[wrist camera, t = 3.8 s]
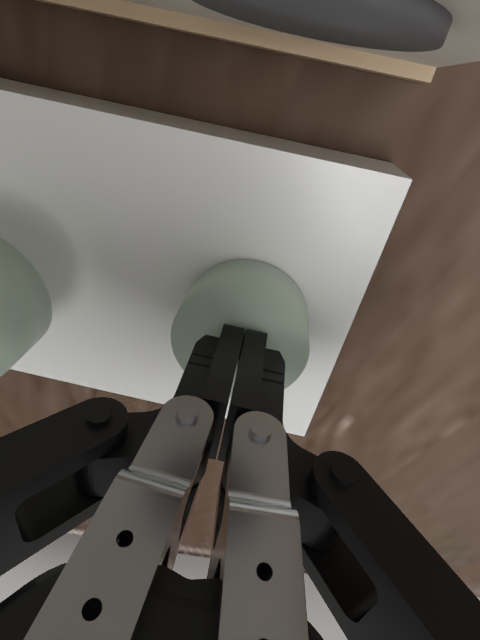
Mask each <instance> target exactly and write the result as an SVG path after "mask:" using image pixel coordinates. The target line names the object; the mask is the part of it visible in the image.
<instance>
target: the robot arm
mask: <svg viewBox="0 0 480 640" xmlns="http://www.w3.org/2000/svg"><path fill="white" fill-rule="evenodd" d="M244 330H245V328H242V327H237V326H233V325H229V324H224V325H223V329H222V332H221V335H220V338H219V337H215V336H210V335H204V336H203V337H202V338H200V339H199V340H198V341H197V342H196V343H195V345H194V348H193V350H192V353H191V355H190V358H189V360H188V363H187V365H186V368H185V370H184V373H183V375H182V378H181V380H180V382H179V385H178V387H177V390H176V392H175V395H174V397H173V398H172V399H170V400H169V401H167V402H166V403H165V404H164V405H163V407H162V408H160V409H157V410H154V411H150V412H134V413H128V412H127V410H126V408H125V406H124V405H123V404H122V403H120V402H119V401H117V400H115V399H112V398H106V397H98V398H92V399H89V400H86V401H83V402H81V403H79V404H77V405H74V406H72V407H70V408H67V409H65V410H63V411H60V412H58V413H56V414H53V415H51V416H49V417H46V418H44V419H42V420H40V421H37V422H35V423H33V424H30V425H28V426H26V427H23V428H21V429H19V430H16V431H14V432H12V433H9V434H7V435H5V436H3V437H0V576H1V575H2V574H4V573H6V572H7V571H9V570H10V569H12V568H13V567H15V566H16V565H18V564H19V563H21V562H23V561H24V560H26V559H27V558H29V557H30V556H32V555H33V554H35V553H36V552H38V551H39V550H41V549H43V548H44V547H46V546H47V545H49V544H50V543H52V542H53V541H55V540H56V539H58V538H59V537H61V536H62V535H64V534H66V533H67V532H69V531H70V530H72V529H73V528H75V527H76V526H78V525H79V524H81V523H83V522H84V521H86V520H87V519H89V518H90V517H92V516H93V515H94V516H93V517H92V519H91V521H90V523H89V524H88V526H87V528H86V530H85V532H84V533H83V535H82V537H81V539H80V541H79V542H78V544H77V546H76V548H75V549H74V551H73V553H72V555H71V556H70V558H69V560H68V562H67V563H65V564H62V565H59V566H57V567H55V568H53V569H50V570H48V571H46V572H45V573H43V574H41V575H39V576H38V577H36V578H34V579H33V580H31V581H30V582H28V583H27V584H26V585H24V586H23V587H22V588H20V589H19V590H17V591H16V592H15V593H13V594H12V595H11V596H9V597H8V598H7V599H5V600H4V601H2V602H1V603H0V640H323V639H322V637H321V635H320V634H319V633H318V632H317V631H316V630H315V628H314V627H313V626H312V625H311V624H310V623H309V622H308V621H307V612H306V599H305V584H304V571H303V567H304V568H305V570H306V572H307V573H308V575H309V577H310V578H311V580H312V581H313V583H314V585H315V586H316V588H317V590H318V591H319V593H320V595H321V596H322V598H323V599H324V601H325V603H326V604H327V606H328V608H329V609H330V611H331V612H332V614H333V616H334V617H335V619H336V621H337V622H338V624H339V626H340V627H341V629H342V631H343V632H344V634H345V635H346V637H347V639H348V640H480V601H479V599H478V598H477V597H476V596H475V595H474V594H473V593H472V591H471V590H470V589H469V588H468V587H467V586H466V585H465V583H464V582H463V581H462V580H461V579H460V578H459V577H458V575H457V574H456V573H455V572H454V571H453V570H452V569H451V568H450V566H449V565H448V564H447V563H446V562H445V561H444V560H443V558H442V557H441V556H440V555H439V554H438V553H437V552H436V550H435V549H434V548H433V547H432V546H431V545H430V544H429V542H428V541H427V540H426V539H425V538H424V537H423V536H422V534H421V533H420V532H419V531H418V530H417V529H416V528H415V526H414V525H413V524H412V523H411V522H410V521H409V520H408V518H407V517H406V516H405V515H404V514H403V513H402V512H401V510H400V509H399V508H398V507H397V506H396V505H395V504H394V502H393V501H392V500H391V499H390V498H389V497H388V496H387V494H386V493H385V492H384V491H383V490H382V489H381V488H380V486H379V485H378V484H377V483H376V482H375V481H374V480H373V479H372V477H371V476H370V475H369V474H368V473H367V472H366V471H365V469H364V468H363V467H362V466H361V465H360V464H359V463H358V462H357V461H356V460H355V459H353V458H352V457H350V456H349V455H346V454H344V453H341V452H337V451H327V452H324V453H322V454H320V455H319V456H316V455H314V454H312V453H310V452H309V451H307V450H305V449H303V448H301V447H300V446H298V445H297V444H296V443H294V442H293V441H292V440H291V439H290V437H289V436H288V435H287V433H286V431H285V429H284V426H283V403H284V382H285V376H284V375H285V361H284V359H283V357H282V355H281V353H280V351H277V350H272V349H268V348H266V343H267V333H264V332H260V331H255V330H251V329H247V330H246V334H245V338H244V343H243V347H242V351H241V356H240V360H239V364H238V369H237V373H236V378H235V382H234V387H233V392H232V396H231V401H230V405H229V410H228V414H227V419H226V424H225V428H224V433H223V437H222V442H221V447H220V451H219V456H218V460H220V461H224V466H223V471H222V476H221V480H220V484H219V489H218V497H217V506H216V515H215V523H214V532H213V540H212V549H211V556H210V563H209V568H208V574H207V579H196V580H190V579H187V578H185V577H183V576H181V575H179V574H178V573H176V572H174V571H173V567H174V564H175V560H176V556H177V553H178V549H179V546H180V543H181V540H182V537H183V534H184V531H185V528H186V525H187V522H188V519H189V516H190V513H191V510H192V507H193V504H194V501H195V498H196V495H197V492H198V489H199V486H200V483H201V479H202V478H203V476H204V474H205V471H206V467H207V463H208V459H209V458H210V459H216V454H217V450H218V446H219V441H220V437H221V432H222V428H223V424H224V419H225V415H226V410H227V406H228V402H229V397H230V393H231V388H232V384H233V379H234V375H235V370H236V366H237V361H238V357H239V352H240V348H241V343H242V339H243V334H244Z"/></svg>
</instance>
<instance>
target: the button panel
mask: <svg viewBox="0 0 480 640" xmlns="http://www.w3.org/2000/svg"><path fill="white" fill-rule="evenodd" d="M411 182H412V179H411V178H410V177H409V176H407V175H406V174H405V173H404V172H402V171H401V170H400V169H399V168H397V167H396V166H395V165H394V164H392V163H391V162H386V161H382V160H377V159H372V158H368V157H363V156H359V155H354V154H349V153H345V152H340V151H336V150H331V149H326V148H322V147H317V146H313V145H308V144H303V143H299V142H294V141H290V140H285V139H280V138H276V137H271V136H267V135H262V134H257V133H253V132H248V131H244V130H239V129H234V128H230V127H225V126H221V125H216V124H211V123H207V122H202V121H198V120H193V119H188V118H184V117H179V116H175V115H170V114H165V113H161V112H156V111H151V110H147V109H142V108H138V107H133V106H128V105H124V104H119V103H115V102H110V101H105V100H101V99H96V98H92V97H87V96H82V95H78V94H73V93H69V92H64V91H59V90H55V89H50V88H46V87H41V86H36V85H32V84H27V83H23V82H18V81H13V80H9V79H4V78H0V237H1V238H2V239H4V240H5V241H7V242H8V243H10V244H11V245H12V246H14V247H15V248H16V249H17V250H18V251H19V252H21V253H22V254H23V255H24V256H25V257H26V258H27V259H28V261H29V262H30V263H31V264H32V265H33V266H34V268H35V269H36V270H37V272H38V273H39V275H40V276H41V278H42V280H43V281H44V284H45V286H46V288H47V290H48V293H49V296H50V299H51V304H52V319H51V323H50V327H49V328H48V330H47V332H46V333H45V335H44V336H43V337H42V338H41V339H40V340H39V341H38V342H37V343H36V344H35V345H34V346H33V347H32V348H31V349H30V350H29V351H27V352H26V353H25V354H24V355H23V356H22V357H21V358H20V359H19V360H18V361H17V362H16V363H15V364H14V365H13V366H12V367H11V368H10V369H13V370H17V371H21V372H26V373H30V374H34V375H39V376H43V377H47V378H52V379H56V380H60V381H65V382H69V383H74V384H78V385H82V386H87V387H91V388H95V389H100V390H104V391H108V392H113V393H117V394H121V395H126V396H130V397H135V398H139V399H143V400H148V401H152V402H156V403H161V404H165V403H166V402H167V401H169V400H170V399H172V398H173V397H174V395H175V392H176V390H177V387H178V385H179V382H180V380H181V378H182V375H183V373H184V370H183V369H182V368H181V366H180V365H179V363H178V362H177V360H176V358H175V356H174V353H173V350H172V346H171V327H172V323H173V320H174V318H175V316H176V314H177V312H178V310H179V308H180V306H181V305H182V303H183V301H184V299H185V297H186V295H187V293H188V292H189V290H190V288H191V286H192V284H193V283H194V281H195V280H196V279H197V278H198V277H199V276H200V275H201V274H202V273H203V272H204V271H206V270H207V269H209V268H211V267H212V266H214V265H217V264H219V263H222V262H226V261H230V260H239V259H245V260H255V261H260V262H263V263H267V264H269V265H271V266H274V267H276V268H277V269H279V270H281V271H283V272H284V273H285V274H286V275H288V276H289V277H290V278H291V279H292V280H293V281H294V282H295V283H296V284H297V286H298V287H299V288H300V290H301V292H302V293H303V295H304V298H305V300H306V303H307V308H308V320H309V341H310V352H309V358H308V362H307V364H306V366H305V369H304V370H303V372H302V373H301V375H300V376H299V377H298V379H297V380H296V381H295V382H294V383H292V384H291V385H290V386H289V387H287V388H286V389H284V403H283V426H284V429H285V431H286V432H287V433H291V434H296V435H300V436H305V433H306V431H307V429H308V426H309V424H310V422H311V419H312V417H313V414H314V412H315V410H316V407H317V405H318V403H319V400H320V398H321V395H322V393H323V391H324V388H325V386H326V384H327V381H328V379H329V376H330V374H331V372H332V369H333V367H334V365H335V362H336V360H337V357H338V355H339V353H340V350H341V348H342V346H343V343H344V341H345V338H346V336H347V334H348V331H349V329H350V327H351V324H352V322H353V319H354V317H355V315H356V312H357V310H358V308H359V305H360V303H361V301H362V298H363V296H364V293H365V291H366V289H367V286H368V284H369V282H370V279H371V277H372V274H373V272H374V270H375V267H376V265H377V263H378V260H379V258H380V255H381V253H382V251H383V248H384V246H385V244H386V241H387V239H388V236H389V234H390V232H391V229H392V227H393V225H394V222H395V220H396V217H397V215H398V213H399V210H400V208H401V206H402V203H403V201H404V198H405V196H406V194H407V191H408V189H409V187H410V184H411ZM230 401H231V397H229V402H228V406H227V410H226V415H225V418H226V419H227V414H228V410H229V405H230Z"/></svg>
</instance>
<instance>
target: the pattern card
mask: <svg viewBox="0 0 480 640" xmlns="http://www.w3.org/2000/svg"><path fill="white" fill-rule="evenodd" d="M34 1H38V2H43V3H48V4H52V5H57V6H62V7H66V8H71V9H76V10H80V11H85V12H90V13H94V14H99V15H104V16H108V17H113V18H118V19H122V20H127V21H132V22H137V23H141V24H146V25H151V26H155V27H160V28H165V29H169V30H174V31H179V32H183V33H188V34H193V35H197V36H202V37H207V38H211V39H216V40H221V41H225V42H230V43H235V44H240V45H244V46H249V47H254V48H258V49H263V50H268V51H272V52H277V53H282V54H286V55H291V56H296V57H300V58H305V59H310V60H314V61H319V62H324V63H328V64H333V65H338V66H342V67H347V68H352V69H357V70H361V71H366V72H371V73H375V74H380V75H385V76H389V77H394V78H399V79H403V80H408V81H413V82H417V83H431V81H432V78H433V75H434V73H435V70H436V68H437V67H444V66H450V65H457V64H464V63H470V62H477V61H480V0H34Z"/></svg>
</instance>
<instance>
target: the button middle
mask: <svg viewBox="0 0 480 640" xmlns="http://www.w3.org/2000/svg"><path fill="white" fill-rule="evenodd" d="M51 319H52V304H51V299H50V296H49V293H48V290H47V288H46V286H45V284H44V281H43V280H42V278H41V276H40V275H39V273H38V272H37V270H36V269H35V268H34V266H33V265H32V264H31V263H30V262H29V261H28V259H27V258H26V257H25V256H24V255H23V254H22V253H21V252H19V251H18V250H17V249H16V248H15V247H14V246H12V245H11V244H10V243H8V242H7V241H5V240H4V239H2V238H1V237H0V376H2V375H3V374H5V373H6V372H7V371H8V370H9V369H10V368H11V367H12V366H13V365H14V364H15V363H16V362H17V361H18V360H19V359H20V358H21V357H22V356H23V355H24V354H25V353H26V352H27V351H29V350H30V349H31V348H32V347H33V346H34V345H35V344H36V343H37V342H38V341H39V340H40V339H41V338H42V337H43V336H44V335H45V333H46V332H47V330H48V328H49V327H50V323H51Z"/></svg>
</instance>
